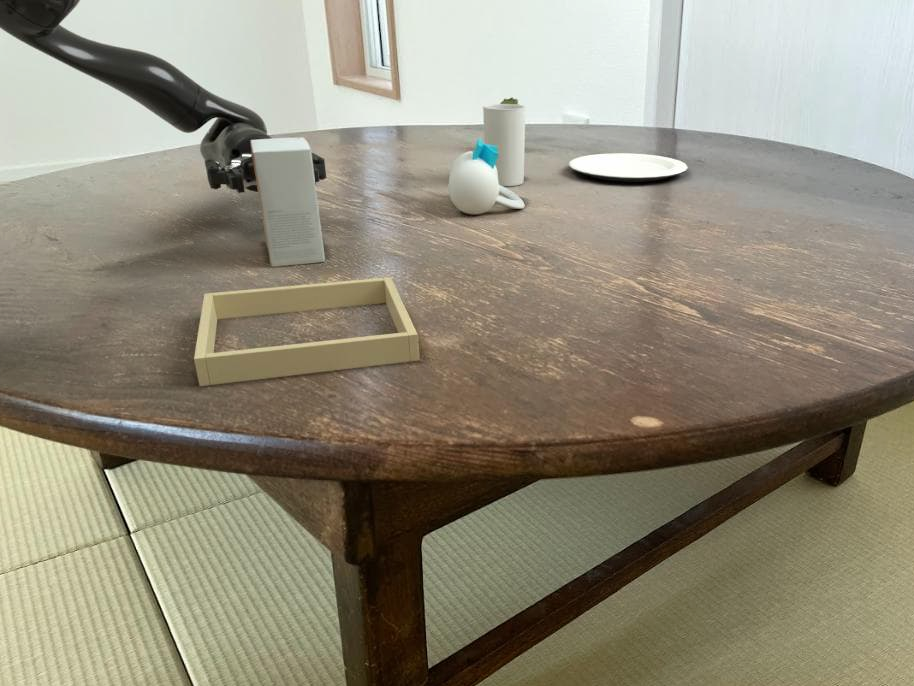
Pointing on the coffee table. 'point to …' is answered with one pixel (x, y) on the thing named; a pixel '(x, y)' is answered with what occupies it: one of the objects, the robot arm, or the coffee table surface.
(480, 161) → the mug
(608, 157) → the plate
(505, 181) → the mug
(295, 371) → the rectangular frame
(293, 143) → the small box
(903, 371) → the coffee table surface
